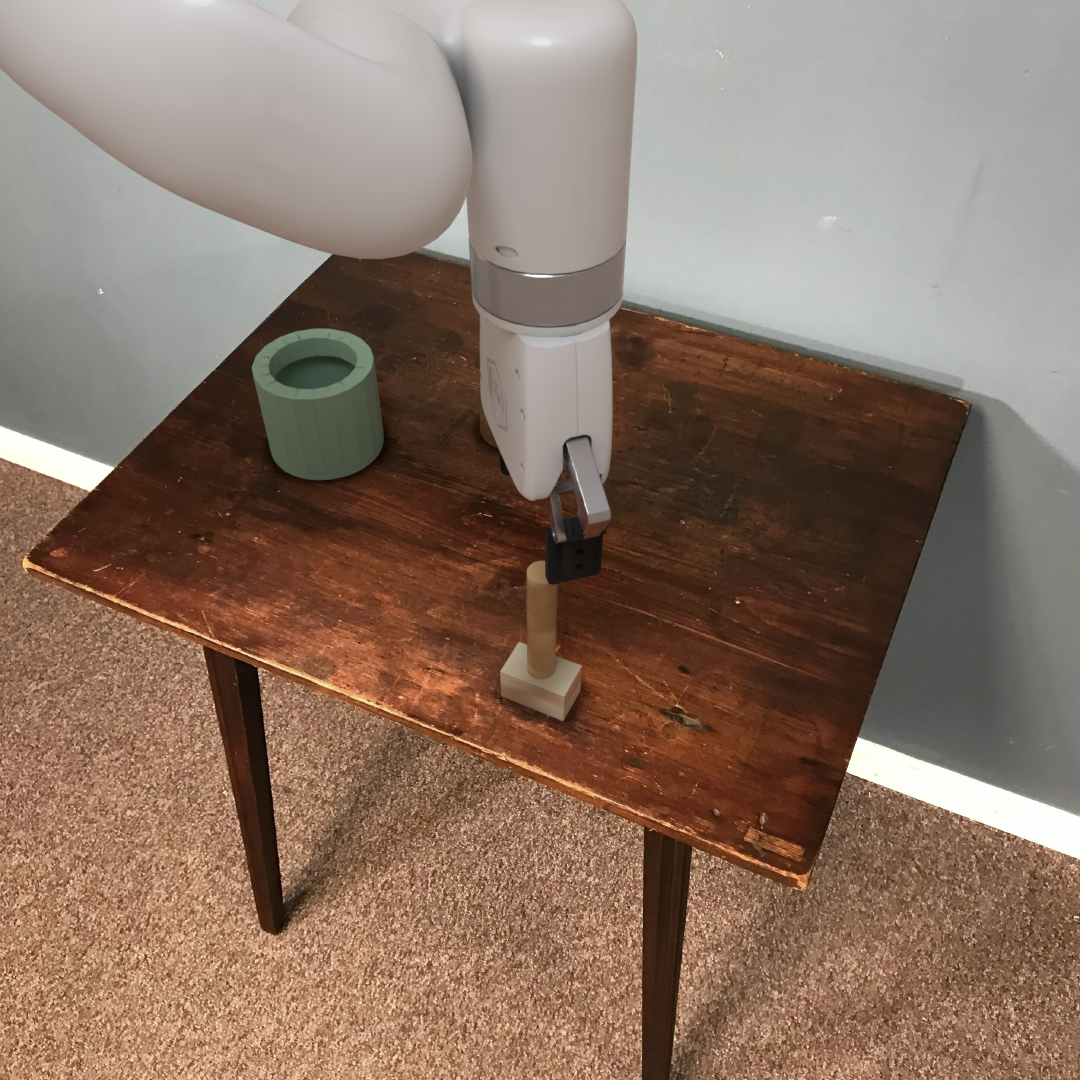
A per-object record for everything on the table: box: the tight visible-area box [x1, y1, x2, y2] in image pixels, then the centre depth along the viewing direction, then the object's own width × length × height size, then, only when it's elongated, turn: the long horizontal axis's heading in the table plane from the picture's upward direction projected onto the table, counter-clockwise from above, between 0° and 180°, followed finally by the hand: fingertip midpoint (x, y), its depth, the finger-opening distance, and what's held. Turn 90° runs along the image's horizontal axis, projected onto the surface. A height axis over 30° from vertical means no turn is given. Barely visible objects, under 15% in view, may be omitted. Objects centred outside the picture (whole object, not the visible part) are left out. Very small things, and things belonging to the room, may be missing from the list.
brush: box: [499, 560, 583, 722], centre depth 71 cm, size 5×3×13 cm, turn 64°
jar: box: [251, 328, 385, 481], centre depth 92 cm, size 10×10×9 cm
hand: (547, 519), depth 63 cm, fingers open, 9 cm apart
